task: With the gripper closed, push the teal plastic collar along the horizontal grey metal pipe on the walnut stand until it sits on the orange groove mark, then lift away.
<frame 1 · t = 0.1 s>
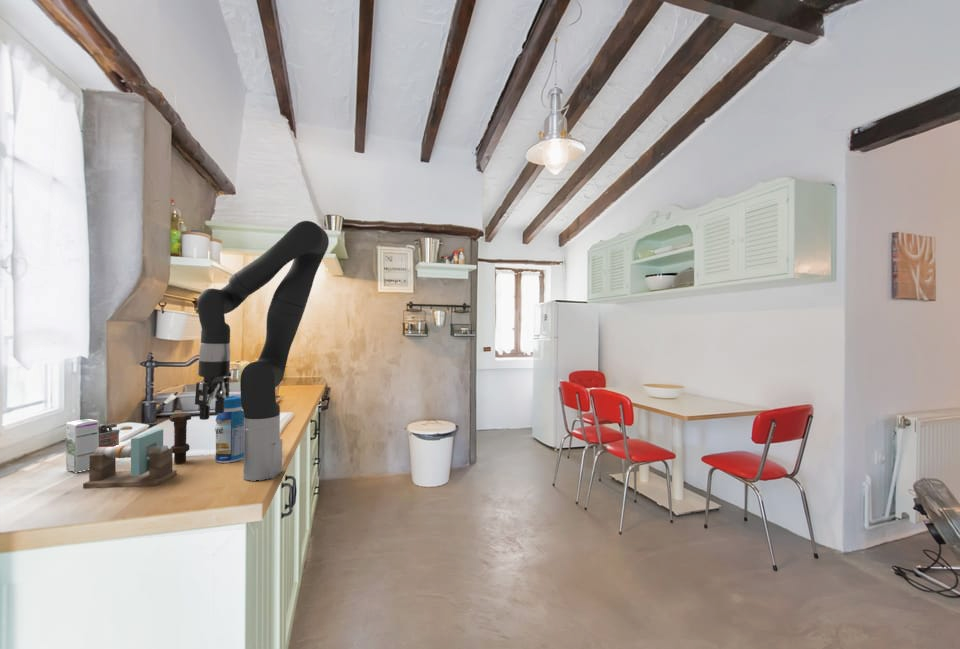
hand: (212, 416, 120), 17 cm above the worktop, tool pointing down, fingers open, 8 cm apart
syrup box: (82, 470, 126), on the worktop
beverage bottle: (230, 460, 136), on the worktop
pipe stand: (132, 480, 117), on the worktop
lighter: (103, 455, 140), on the worktop
bolt: (180, 463, 132), on the worktop
collar: (147, 451, 117), point 8 cm above the worktop, slide at 0.0 cm
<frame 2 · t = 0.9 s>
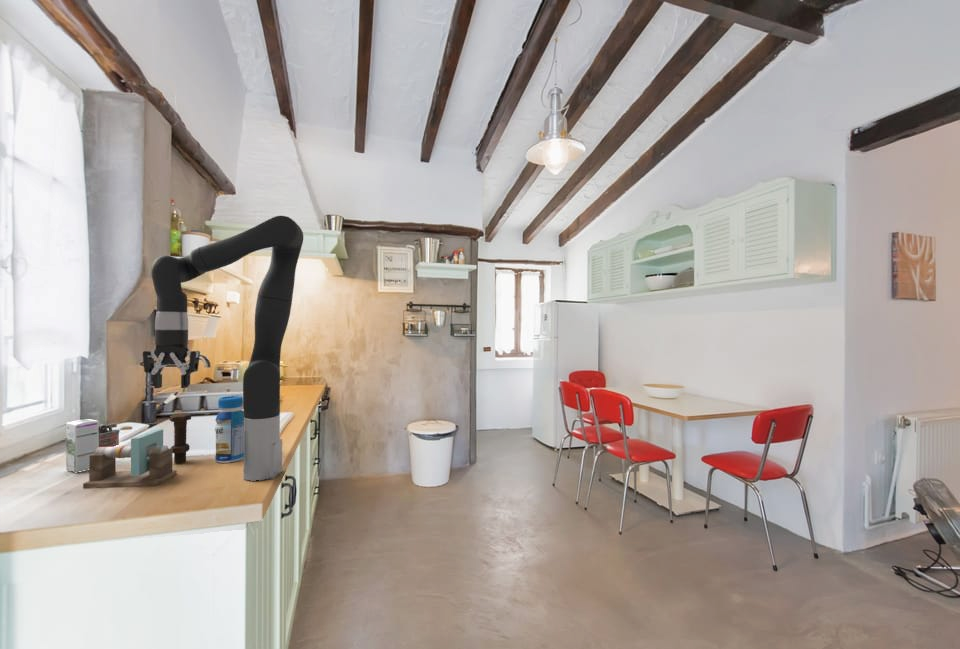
hand: (171, 387, 118), 26 cm above the worktop, tool pointing down, fingers open, 6 cm apart
nothing on the worktop moved.
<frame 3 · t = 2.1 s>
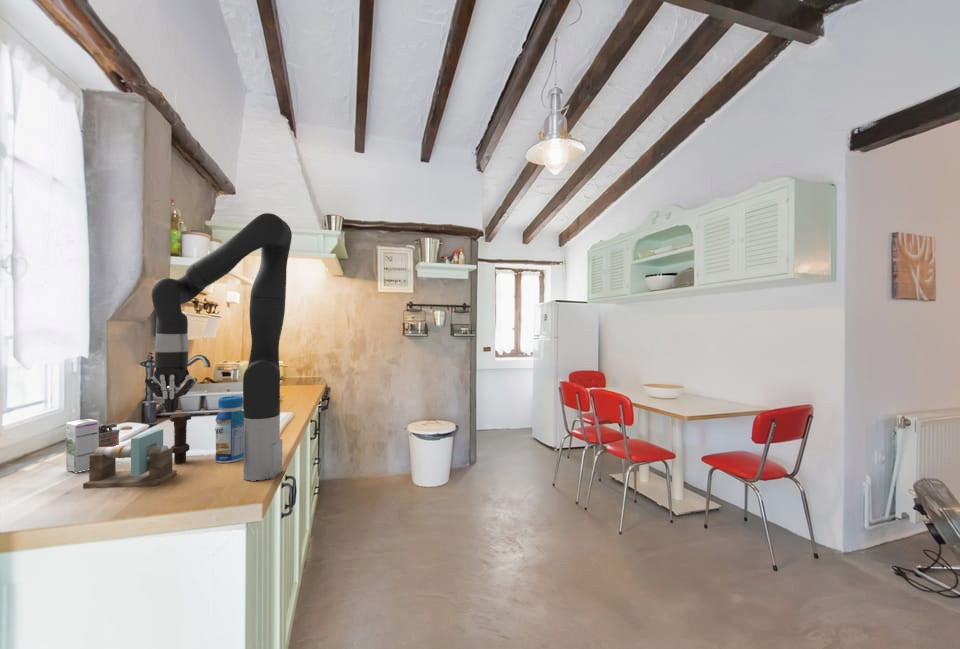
hand: (170, 411, 118), 19 cm above the worktop, tool pointing down, fingers closed
nothing on the worktop moved.
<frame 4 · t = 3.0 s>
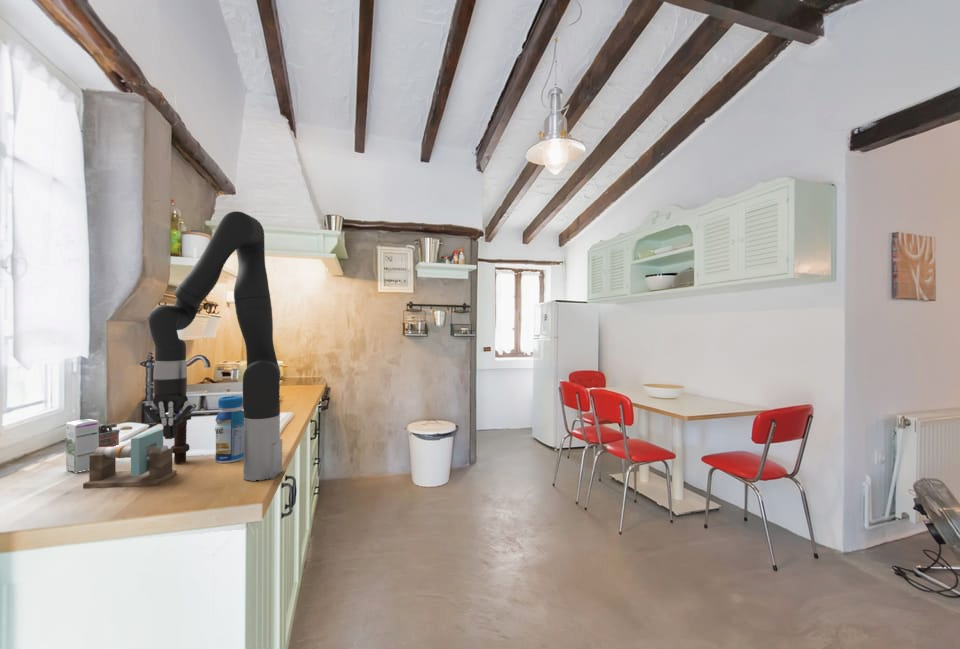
hand: (170, 438, 118), 12 cm above the worktop, tool pointing down, fingers closed
nothing on the worktop moved.
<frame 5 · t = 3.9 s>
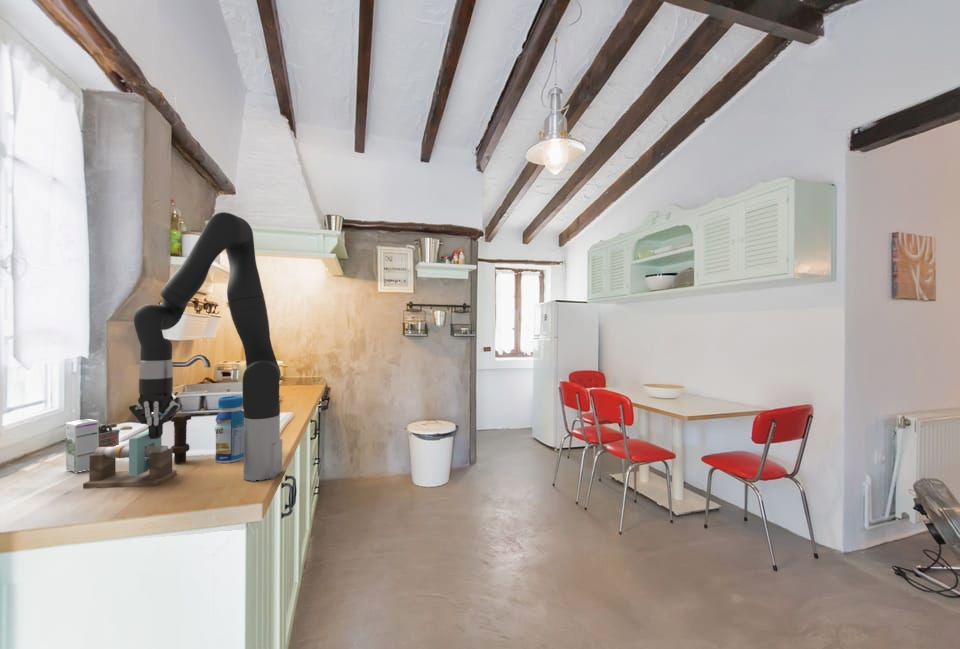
hand: (155, 438, 117), 12 cm above the worktop, tool pointing down, fingers closed
collar: (145, 451, 117), point 8 cm above the worktop, slide at 0.5 cm, touching gripper
everything else where it was.
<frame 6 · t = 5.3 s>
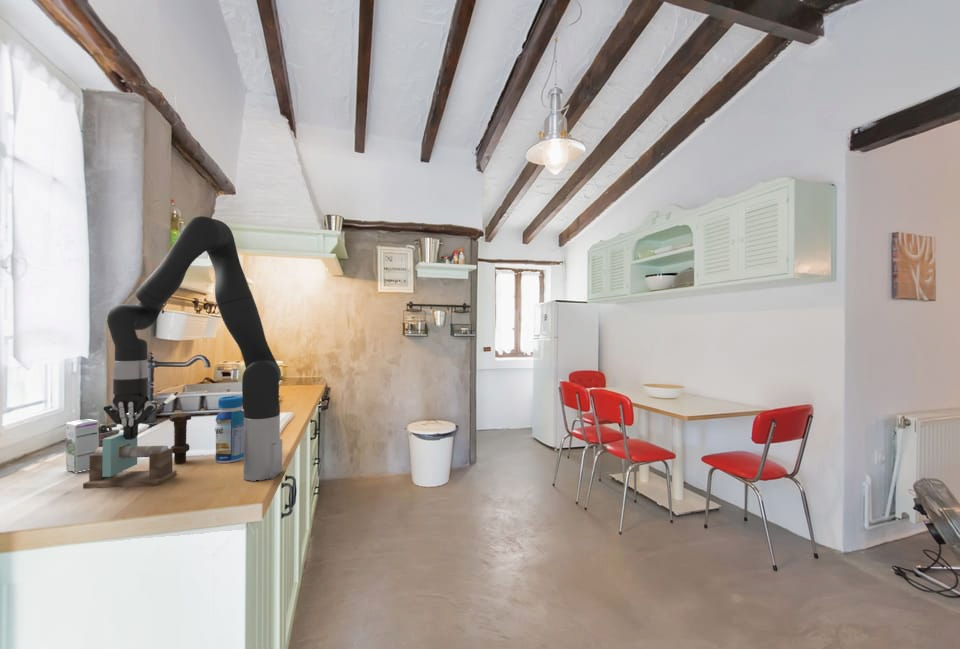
hand: (130, 438, 117), 12 cm above the worktop, tool pointing down, fingers closed
collar: (120, 452, 117), point 8 cm above the worktop, slide at 7.0 cm, touching gripper
everything else where it was.
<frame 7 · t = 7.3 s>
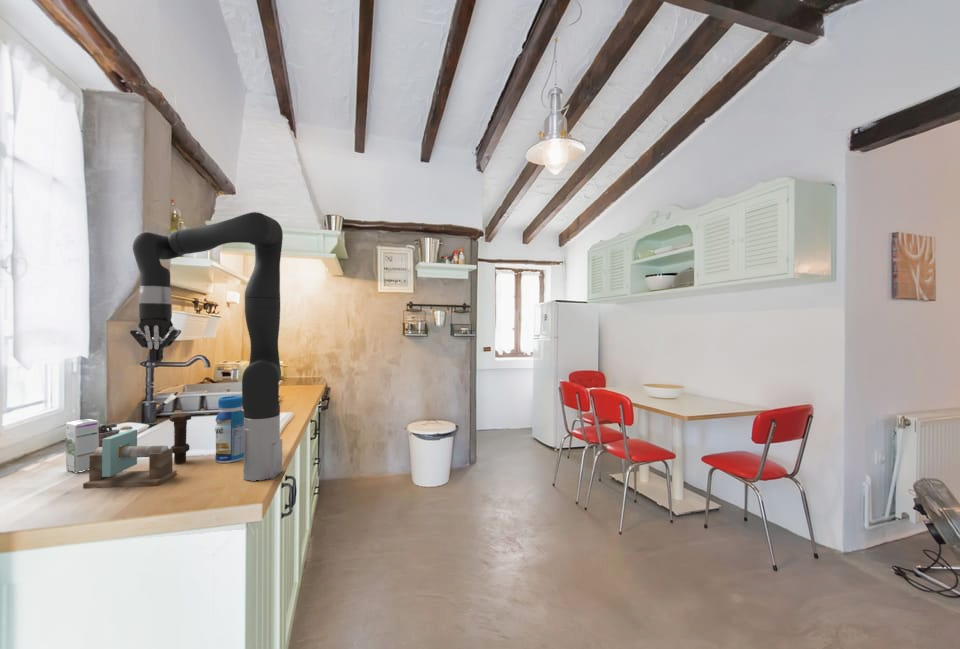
hand: (156, 362, 122), 32 cm above the worktop, tool pointing down, fingers closed
collar: (120, 452, 117), point 8 cm above the worktop, slide at 7.0 cm
everything else where it was.
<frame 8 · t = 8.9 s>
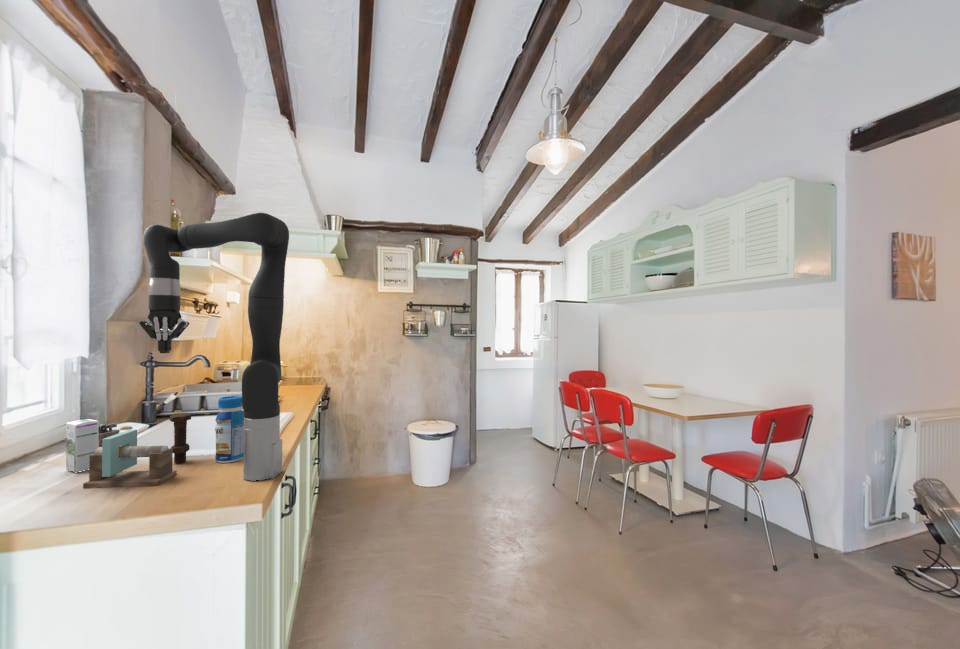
hand: (164, 353, 124), 35 cm above the worktop, tool pointing down, fingers closed
nothing on the worktop moved.
at the end: collar slide at 7.0 cm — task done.
